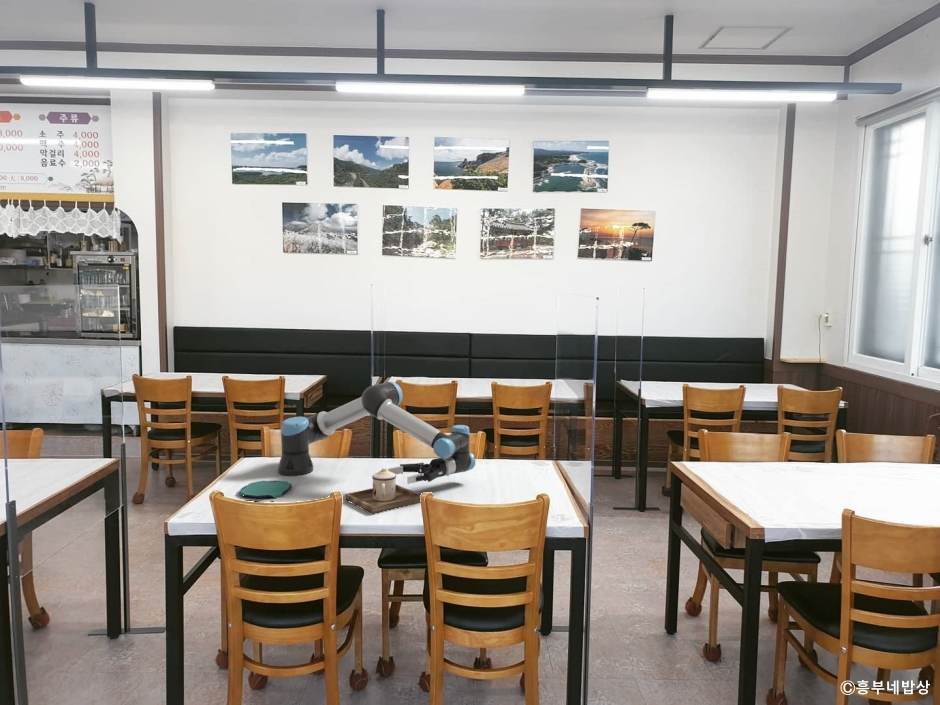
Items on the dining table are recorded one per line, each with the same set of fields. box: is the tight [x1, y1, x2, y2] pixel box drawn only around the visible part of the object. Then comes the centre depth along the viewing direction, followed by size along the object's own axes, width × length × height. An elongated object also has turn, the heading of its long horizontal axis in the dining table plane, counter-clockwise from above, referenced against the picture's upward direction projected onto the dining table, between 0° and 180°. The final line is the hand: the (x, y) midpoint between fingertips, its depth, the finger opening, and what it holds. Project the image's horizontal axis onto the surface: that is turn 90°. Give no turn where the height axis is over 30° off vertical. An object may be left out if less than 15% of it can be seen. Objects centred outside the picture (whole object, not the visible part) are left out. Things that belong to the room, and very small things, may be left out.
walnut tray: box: [344, 484, 421, 515], centre depth 244 cm, size 20×22×2 cm
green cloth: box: [238, 480, 293, 503], centre depth 251 cm, size 20×30×2 cm, turn 176°
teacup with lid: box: [371, 467, 397, 501], centre depth 244 cm, size 12×9×12 cm
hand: (398, 476), depth 247 cm, fingers open, 13 cm apart
